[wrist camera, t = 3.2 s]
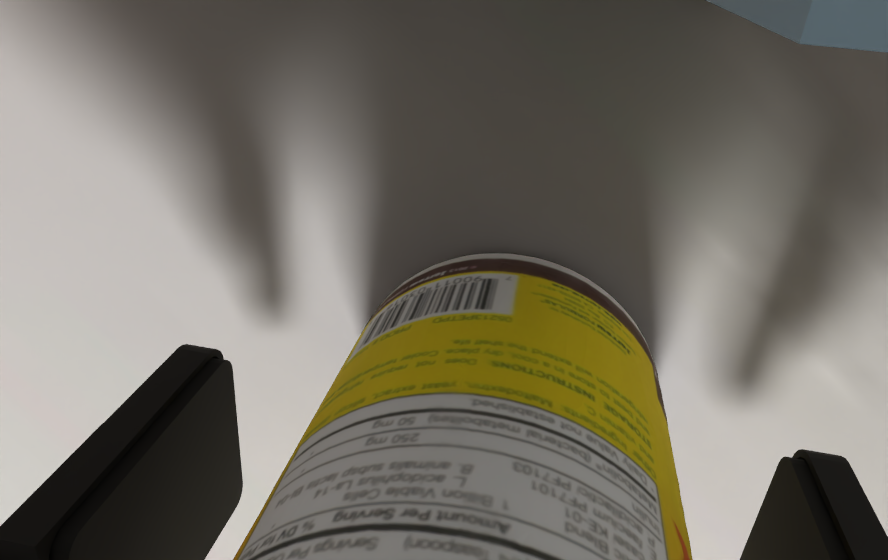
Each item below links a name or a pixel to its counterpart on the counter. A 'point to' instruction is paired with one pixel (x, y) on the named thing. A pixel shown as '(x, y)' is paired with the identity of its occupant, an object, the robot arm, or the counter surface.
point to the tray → (819, 21)
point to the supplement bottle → (485, 430)
